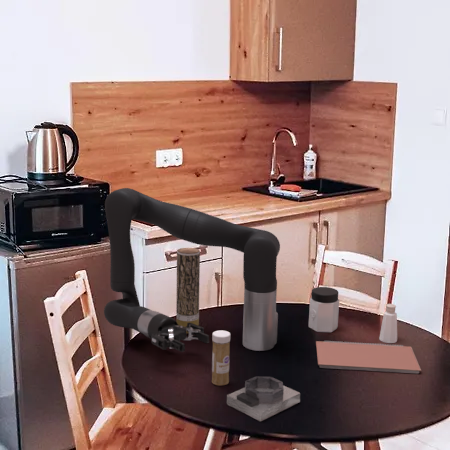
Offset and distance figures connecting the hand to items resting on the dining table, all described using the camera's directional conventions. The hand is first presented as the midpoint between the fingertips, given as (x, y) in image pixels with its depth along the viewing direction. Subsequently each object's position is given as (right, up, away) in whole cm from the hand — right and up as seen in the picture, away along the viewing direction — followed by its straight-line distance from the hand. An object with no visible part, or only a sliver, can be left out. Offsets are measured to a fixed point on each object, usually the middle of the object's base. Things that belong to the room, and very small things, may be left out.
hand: (196, 343), depth 184 cm
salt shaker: (+56, -3, +25) cm, 62 cm away
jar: (+38, -1, +34) cm, 51 cm away
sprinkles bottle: (+6, -9, -5) cm, 12 cm away
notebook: (+47, -7, +12) cm, 49 cm away
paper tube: (-4, -1, +29) cm, 29 cm away
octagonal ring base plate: (+17, -12, -15) cm, 25 cm away
